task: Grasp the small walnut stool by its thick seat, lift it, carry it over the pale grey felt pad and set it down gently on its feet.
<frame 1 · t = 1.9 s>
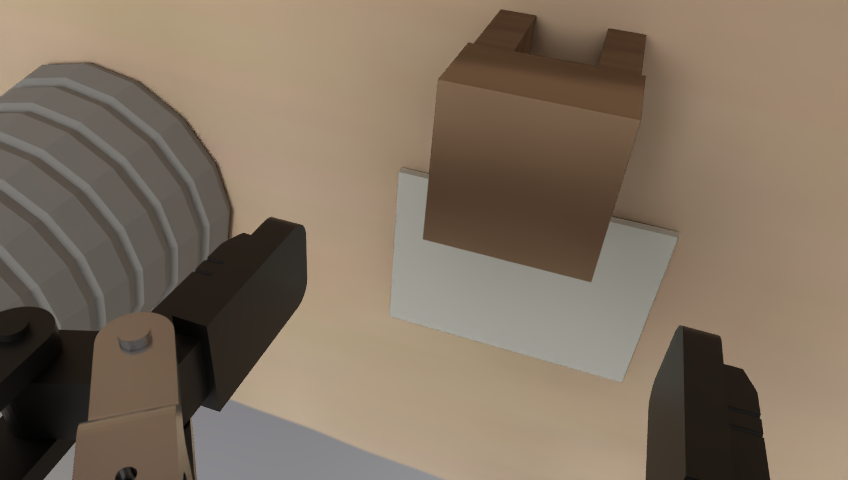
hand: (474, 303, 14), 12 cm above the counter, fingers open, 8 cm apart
stool: (557, 90, 23), on the counter
soap bottle: (125, 179, 32), on the counter
felt pad: (517, 276, 28), on the counter
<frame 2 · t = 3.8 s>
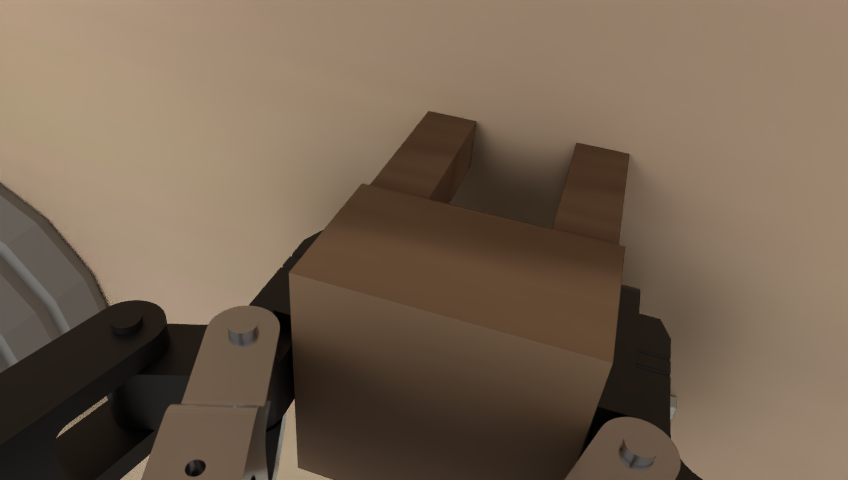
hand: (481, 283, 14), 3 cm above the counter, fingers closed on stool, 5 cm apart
stool: (509, 217, 16), on the counter, touching gripper
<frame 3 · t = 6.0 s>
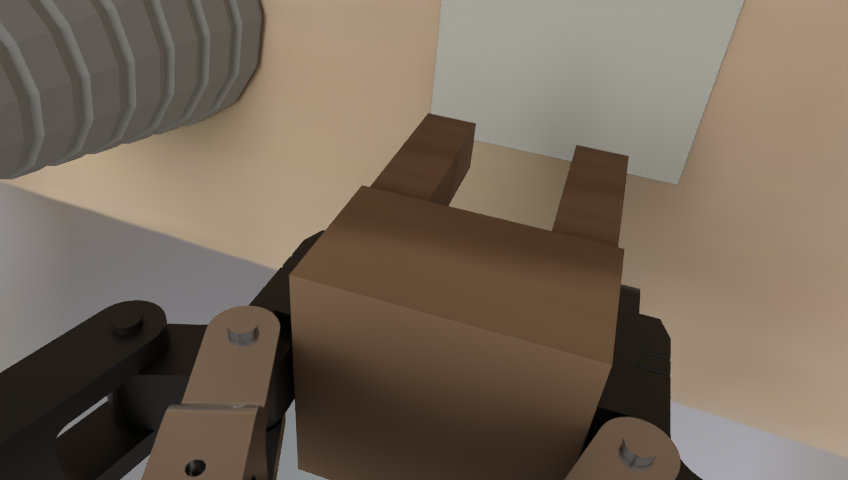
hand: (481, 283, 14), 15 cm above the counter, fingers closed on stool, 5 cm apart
stool: (508, 218, 17), point 12 cm above the counter, touching gripper
felt pad: (569, 65, 26), on the counter
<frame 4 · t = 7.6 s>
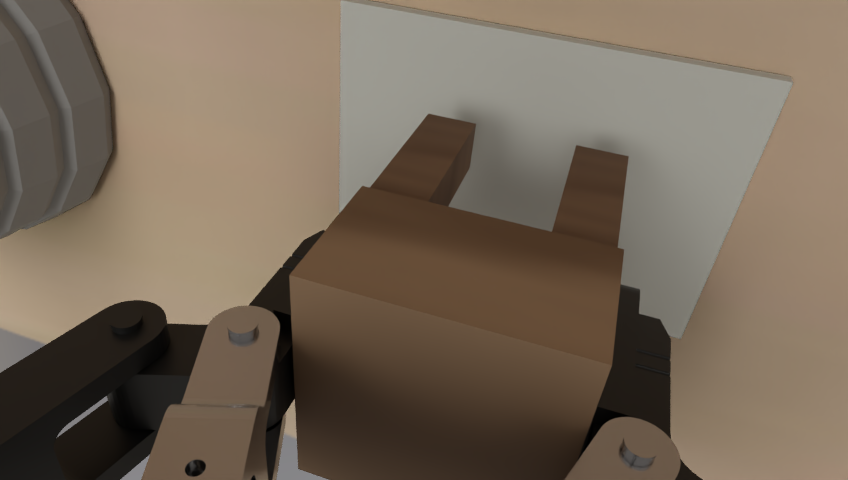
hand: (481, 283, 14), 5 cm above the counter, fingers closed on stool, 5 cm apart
stool: (508, 218, 17), point 2 cm above the counter, touching gripper
felt pad: (524, 174, 18), on the counter
when the fingers open (4 cm above the counter, at t = 8.7 s): stool drops 1 cm, resting on felt pad.
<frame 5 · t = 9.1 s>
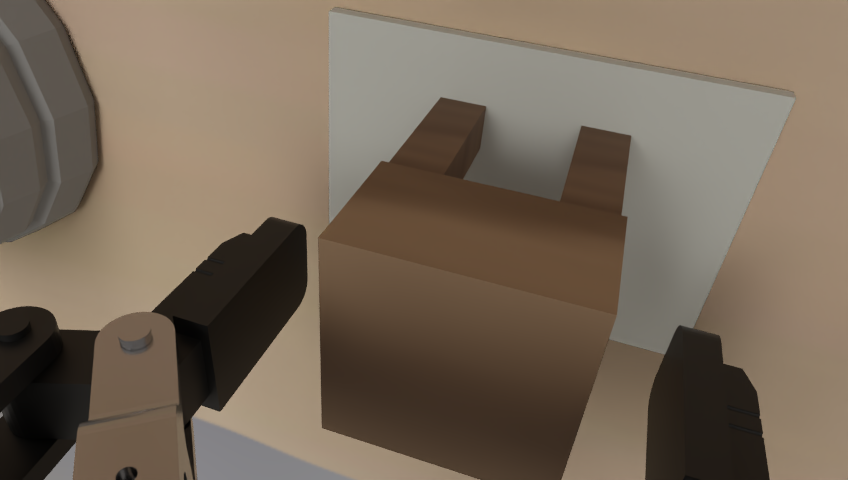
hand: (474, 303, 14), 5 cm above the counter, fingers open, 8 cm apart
stool: (517, 197, 17), resting on felt pad
felt pad: (519, 189, 18), on the counter
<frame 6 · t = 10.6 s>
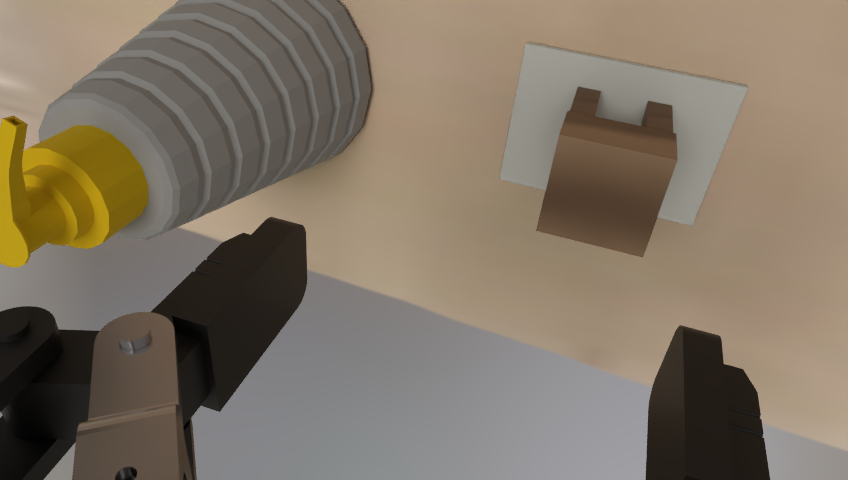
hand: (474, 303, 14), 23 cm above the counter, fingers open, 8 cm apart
stool: (612, 138, 34), resting on felt pad
soap bottle: (279, 67, 39), on the counter
felt pad: (612, 135, 35), on the counter
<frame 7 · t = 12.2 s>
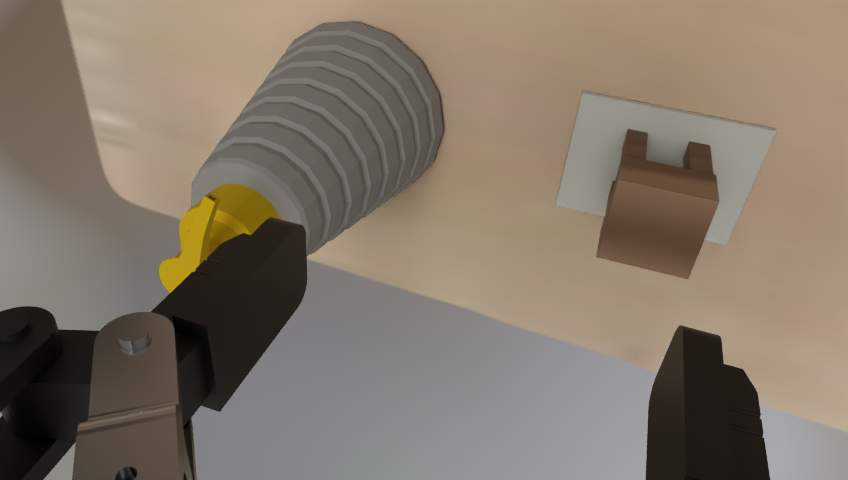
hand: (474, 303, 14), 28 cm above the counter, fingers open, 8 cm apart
stool: (656, 172, 40), resting on felt pad
soap bottle: (360, 109, 45), on the counter
felt pad: (656, 168, 40), on the counter
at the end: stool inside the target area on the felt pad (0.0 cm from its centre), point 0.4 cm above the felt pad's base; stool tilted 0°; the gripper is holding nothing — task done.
